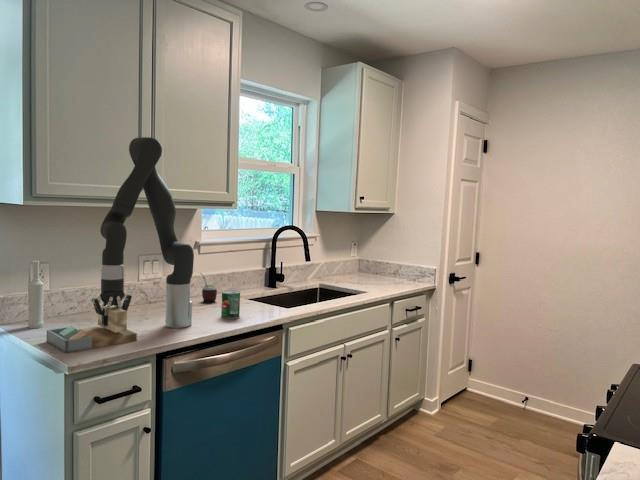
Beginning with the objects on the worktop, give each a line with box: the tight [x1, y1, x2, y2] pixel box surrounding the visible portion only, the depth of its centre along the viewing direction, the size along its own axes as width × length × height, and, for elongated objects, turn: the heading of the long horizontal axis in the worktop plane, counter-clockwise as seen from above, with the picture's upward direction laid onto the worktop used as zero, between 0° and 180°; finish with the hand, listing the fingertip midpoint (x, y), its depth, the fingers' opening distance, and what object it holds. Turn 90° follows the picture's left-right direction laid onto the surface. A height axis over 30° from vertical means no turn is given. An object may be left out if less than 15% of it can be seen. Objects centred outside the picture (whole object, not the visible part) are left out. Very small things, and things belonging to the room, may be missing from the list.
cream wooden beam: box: [97, 304, 128, 333], centre depth 177 cm, size 4×14×7 cm, turn 47°
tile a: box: [59, 325, 78, 340], centre depth 171 cm, size 4×4×2 cm
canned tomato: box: [220, 289, 241, 320], centre depth 217 cm, size 8×8×11 cm
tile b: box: [69, 331, 88, 340], centre depth 165 cm, size 4×4×2 cm
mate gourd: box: [199, 272, 218, 304], centre depth 245 cm, size 8×8×15 cm
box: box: [46, 326, 93, 354], centre depth 167 cm, size 8×17×4 cm, turn 47°
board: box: [77, 325, 138, 349], centre depth 175 cm, size 16×17×2 cm
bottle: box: [27, 260, 45, 329], centre depth 186 cm, size 5×5×25 cm
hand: (111, 324), depth 177 cm, fingers closed on cream wooden beam, 4 cm apart
